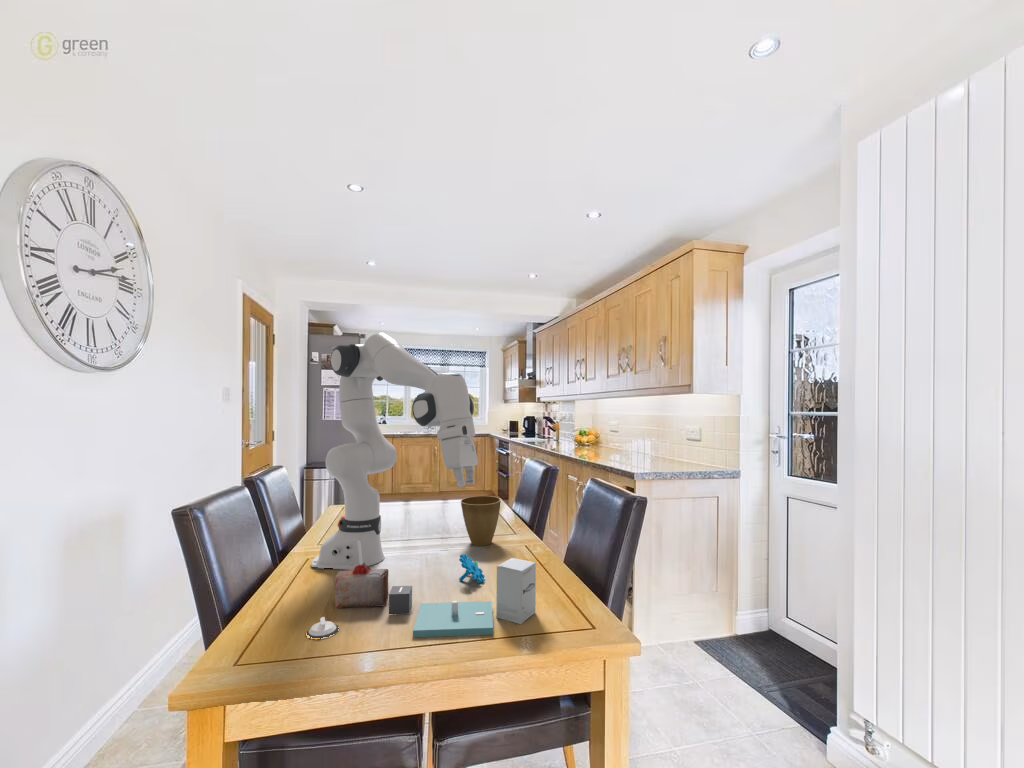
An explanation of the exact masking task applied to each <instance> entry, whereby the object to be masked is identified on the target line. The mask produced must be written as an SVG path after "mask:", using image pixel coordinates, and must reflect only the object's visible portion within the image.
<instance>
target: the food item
mask: <svg viewBox="0 0 1024 768" xmlns="http://www.w3.org/2000/svg"><path fill="white" fill-rule="evenodd" d="M333 583H334V586H335V595H334V596H335V598H334V601H335V602H334V604H335V608H336V607H343V608H350V607H349V606H353V607H356V606H360V607H384V606H386V605H387V603H388V601H389V569H388V568H371V567H370V565H369V566H366V565H365V562H364V563H363V564H362V565H360V564H359V565H357V566H355V568H354V570H339V572H337V574H336V576H335V577H334V579H333Z"/></svg>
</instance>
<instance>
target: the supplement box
mask: <svg viewBox="0 0 1024 768" xmlns="http://www.w3.org/2000/svg"><path fill="white" fill-rule="evenodd" d="M536 563H537V562H535V561H529V560H525V559H520V558H515V557H511V558H509V559H507V560H505V561H503V562H502V563H500V564H498V565H497V566H496V607H495V609H496V612H495V613H496V615H495V616H496V618H498V619H501V620H504V621H508V622H511V623H515V624H519V625H522V624H523V623H524V622H526V620H528V619H529V618H530V617H531V616H533V615H534V614H536V606H537V605H536V594H537V593H536V589H537V585H536V584H537V583H536V580H537V579H536V578H537V577H536V572H537V571H536V568H537V567H536V566H537V564H536Z"/></svg>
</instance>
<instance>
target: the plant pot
mask: <svg viewBox="0 0 1024 768" xmlns="http://www.w3.org/2000/svg"><path fill="white" fill-rule="evenodd" d="M501 501H502V499H501V498H500V497H498V496H493V495H491V496H490V495H476V496H469V497H465V498H462V499H461V500H460V506H461V512H462V517H463V520H464V526H465V528H466V531H467V535H468V538H469V540H470V542H471V545H473V546H476V547H477V546H478V547H485V546H488V545H490V544H492V542H493V539H494V536H495V533H496V529H497V525H498V522H499V521H498V520H499V516H500V515H499V514H500V510H501V503H502V502H501Z"/></svg>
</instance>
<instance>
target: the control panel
mask: <svg viewBox="0 0 1024 768" xmlns="http://www.w3.org/2000/svg"><path fill="white" fill-rule="evenodd" d="M492 602H493V601H491V600H485V601H482V600H481V601H477V600H475V601H458V600H452V601H451V602H450V601H449V602H445V601H444V602H423V603H422V602H421V603H420V604H419V607H418V612H417V615H416V618H415V621H414V626H413V627H412V628H413V630H412V638H430V637H457V636H461V637H462V636H483V635H484V636H485V635H486V636H487V635H494V621H493V619H494V618H493V604H492Z"/></svg>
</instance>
